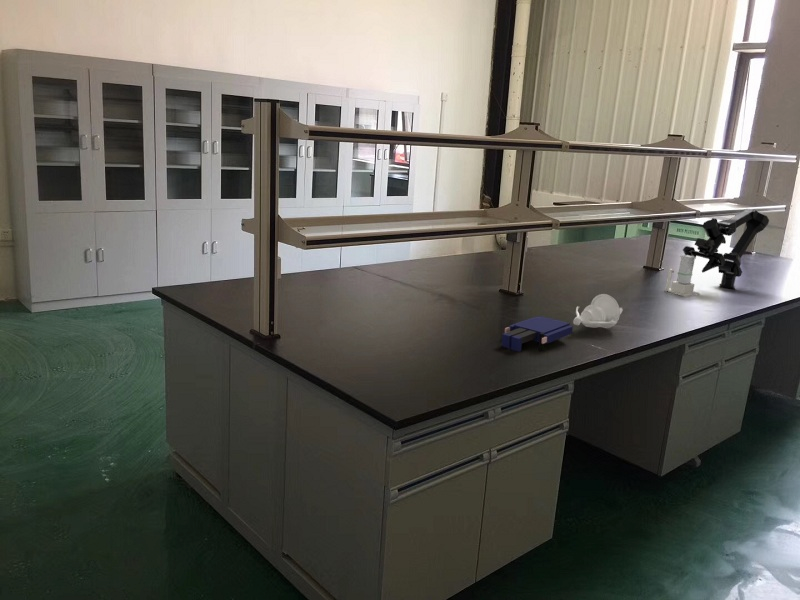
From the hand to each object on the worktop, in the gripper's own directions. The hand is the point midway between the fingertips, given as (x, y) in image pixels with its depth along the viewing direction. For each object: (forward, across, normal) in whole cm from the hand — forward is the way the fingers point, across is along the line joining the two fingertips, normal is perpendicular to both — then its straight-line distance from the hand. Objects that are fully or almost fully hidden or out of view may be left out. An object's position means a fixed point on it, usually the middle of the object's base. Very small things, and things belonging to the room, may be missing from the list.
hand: (693, 269), depth 295 cm
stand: (+11, 0, +3) cm, 12 cm away
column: (+8, 0, +1) cm, 8 cm away
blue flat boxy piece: (+91, +28, -78) cm, 123 cm away
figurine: (+69, +26, -56) cm, 92 cm away
